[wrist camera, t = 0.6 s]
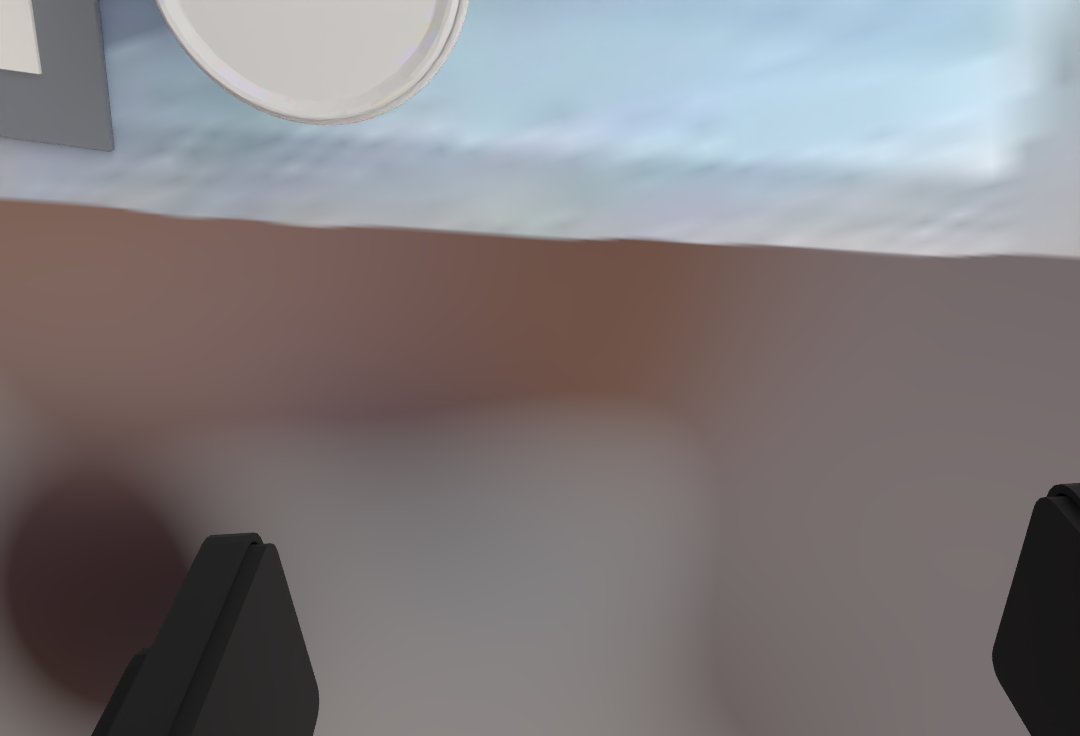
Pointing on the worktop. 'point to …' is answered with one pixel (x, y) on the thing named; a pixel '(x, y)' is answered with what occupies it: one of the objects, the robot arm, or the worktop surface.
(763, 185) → the worktop surface
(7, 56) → the paper
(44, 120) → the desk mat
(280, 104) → the coffee cup
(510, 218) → the worktop surface
